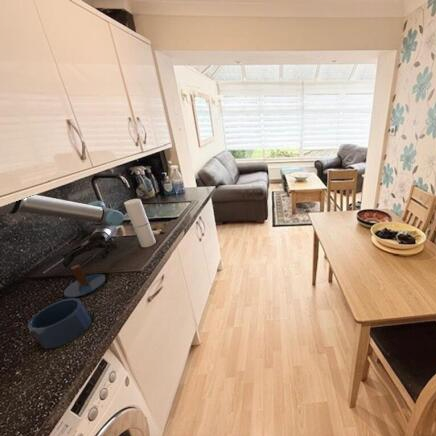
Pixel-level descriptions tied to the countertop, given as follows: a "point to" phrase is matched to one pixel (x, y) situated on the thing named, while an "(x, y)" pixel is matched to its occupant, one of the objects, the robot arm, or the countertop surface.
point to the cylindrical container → (140, 222)
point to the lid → (83, 283)
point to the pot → (59, 323)
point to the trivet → (92, 291)
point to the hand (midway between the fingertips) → (84, 260)
